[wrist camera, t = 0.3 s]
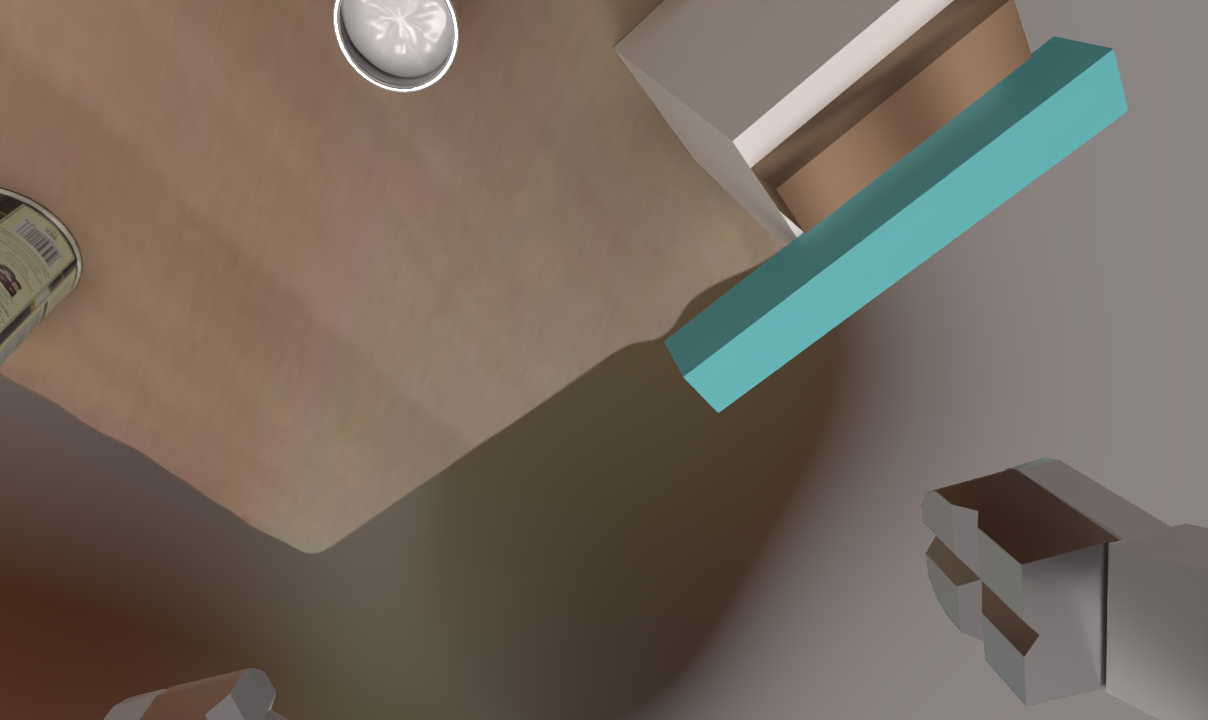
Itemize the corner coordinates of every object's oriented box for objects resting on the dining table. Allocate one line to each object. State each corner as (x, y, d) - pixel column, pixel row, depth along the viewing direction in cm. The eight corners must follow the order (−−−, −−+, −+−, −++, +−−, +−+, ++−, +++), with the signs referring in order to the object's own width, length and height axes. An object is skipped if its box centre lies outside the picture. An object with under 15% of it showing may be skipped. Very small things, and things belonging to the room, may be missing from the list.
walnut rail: (779, 210, 34) (805, 233, 32) (750, 168, 33) (776, 189, 30) (986, 45, 32) (1031, 56, 29) (966, -10, 30) (1013, -3, 28)
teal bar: (697, 376, 39) (718, 412, 37) (664, 341, 37) (683, 377, 35) (1070, 93, 34) (1128, 110, 31) (1053, 36, 32) (1113, 48, 29)
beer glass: (409, -82, 46) (401, -78, 33) (475, 12, 49) (489, 46, 37) (332, -17, 47) (297, 10, 35) (403, 70, 51) (394, 122, 38)
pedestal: (694, 159, 59) (838, 298, 38) (612, 48, 53) (732, 141, 32) (806, 64, 57) (1026, 157, 36) (735, -66, 50) (953, -45, 29)
